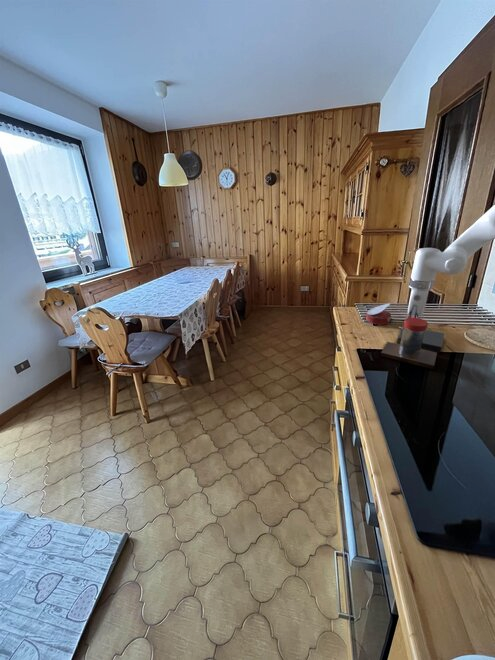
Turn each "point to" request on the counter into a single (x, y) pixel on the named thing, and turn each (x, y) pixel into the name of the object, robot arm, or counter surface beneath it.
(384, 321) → the canned food
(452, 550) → the counter surface
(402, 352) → the jar with red lid
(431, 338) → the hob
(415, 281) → the robot arm
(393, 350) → the board
